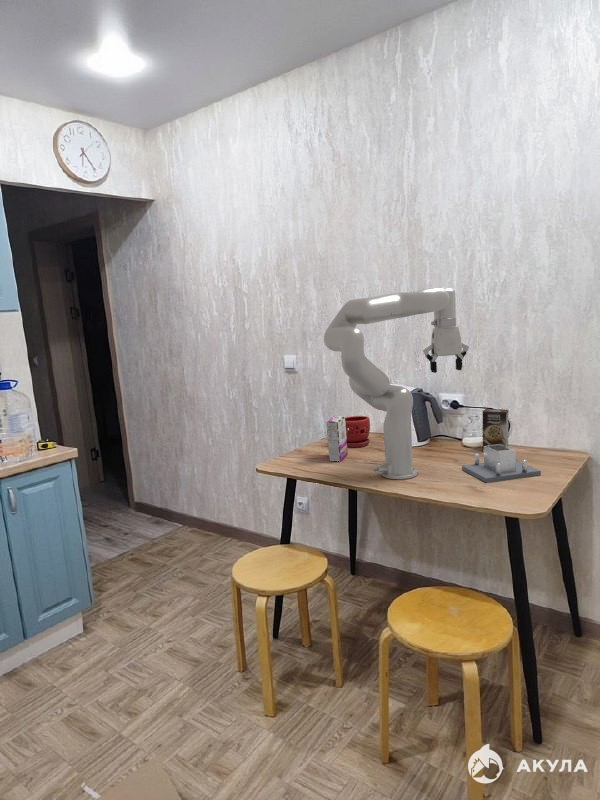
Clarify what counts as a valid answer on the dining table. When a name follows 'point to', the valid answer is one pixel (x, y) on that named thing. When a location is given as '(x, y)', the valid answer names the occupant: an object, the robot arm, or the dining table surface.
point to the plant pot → (357, 431)
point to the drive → (500, 457)
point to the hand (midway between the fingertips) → (446, 371)
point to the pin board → (490, 475)
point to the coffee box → (495, 427)
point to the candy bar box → (337, 438)
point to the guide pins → (498, 465)
